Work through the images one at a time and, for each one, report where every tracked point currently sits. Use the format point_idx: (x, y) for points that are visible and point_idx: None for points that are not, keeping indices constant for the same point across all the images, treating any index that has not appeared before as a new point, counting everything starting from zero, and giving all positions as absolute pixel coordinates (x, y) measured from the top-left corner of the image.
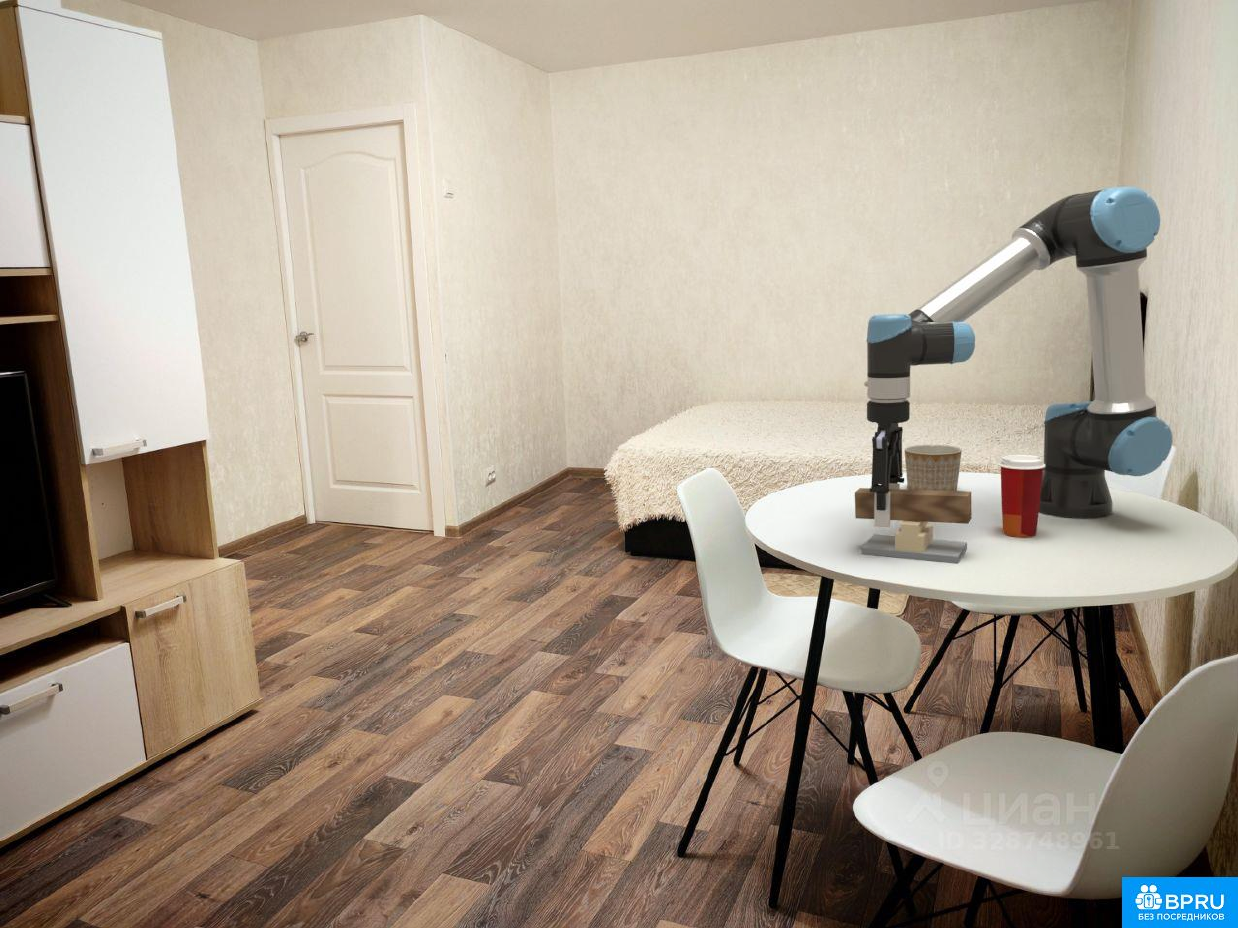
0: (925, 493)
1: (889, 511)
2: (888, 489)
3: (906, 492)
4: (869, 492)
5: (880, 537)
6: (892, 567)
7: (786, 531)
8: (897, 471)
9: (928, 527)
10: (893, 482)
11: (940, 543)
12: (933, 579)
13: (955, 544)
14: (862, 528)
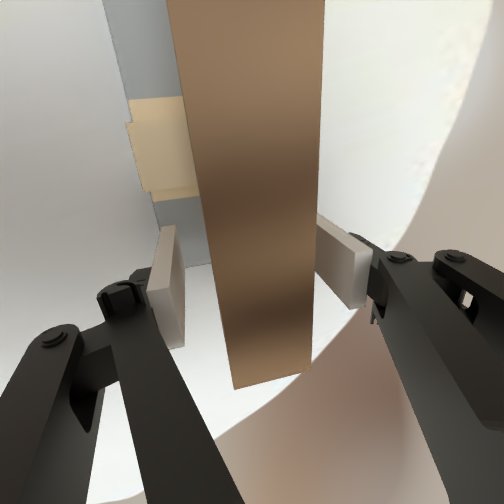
0: (282, 83)
1: (325, 221)
2: (404, 255)
3: (277, 201)
4: (303, 333)
5: (193, 246)
6: (364, 146)
7: (201, 408)
8: (165, 346)
9: (180, 105)
10: (156, 320)
11: (166, 66)
12: (433, 18)
13: (148, 6)
14: (84, 326)
